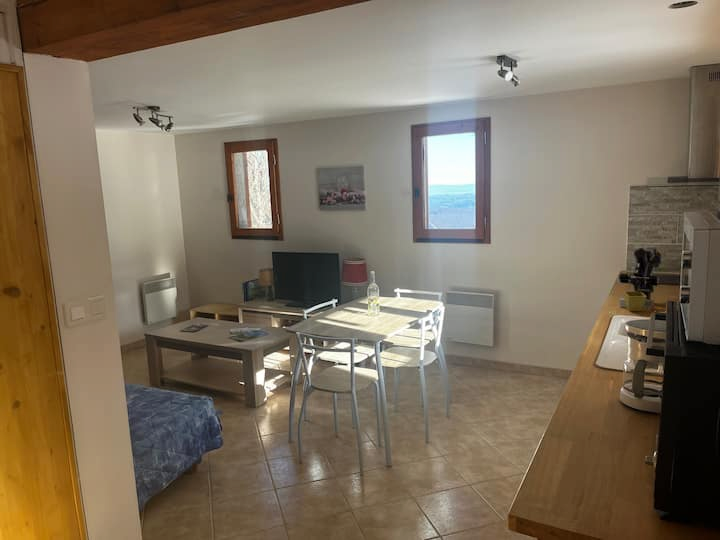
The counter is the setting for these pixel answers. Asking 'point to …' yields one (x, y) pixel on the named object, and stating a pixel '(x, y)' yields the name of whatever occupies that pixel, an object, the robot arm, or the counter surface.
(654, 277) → the robot arm
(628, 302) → the flower pot
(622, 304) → the grey block
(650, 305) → the walnut block
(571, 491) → the counter surface
